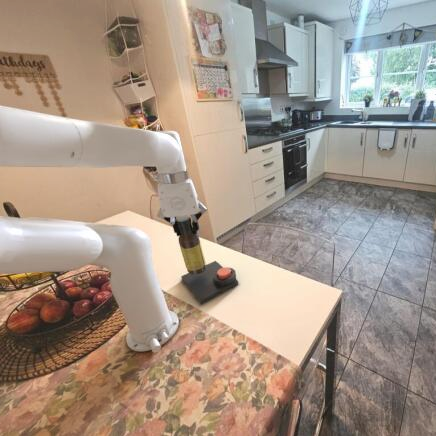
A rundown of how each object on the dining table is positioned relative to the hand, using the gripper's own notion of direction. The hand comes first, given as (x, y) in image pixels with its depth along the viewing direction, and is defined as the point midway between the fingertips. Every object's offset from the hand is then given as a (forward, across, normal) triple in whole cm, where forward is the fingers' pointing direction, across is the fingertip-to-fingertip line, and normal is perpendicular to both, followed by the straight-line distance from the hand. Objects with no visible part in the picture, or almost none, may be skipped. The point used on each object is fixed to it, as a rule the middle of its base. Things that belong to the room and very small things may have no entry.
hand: (187, 232), depth 77 cm
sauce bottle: (+15, 0, 0) cm, 15 cm away
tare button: (+16, +9, -4) cm, 19 cm away
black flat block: (+19, +4, -2) cm, 19 cm away
